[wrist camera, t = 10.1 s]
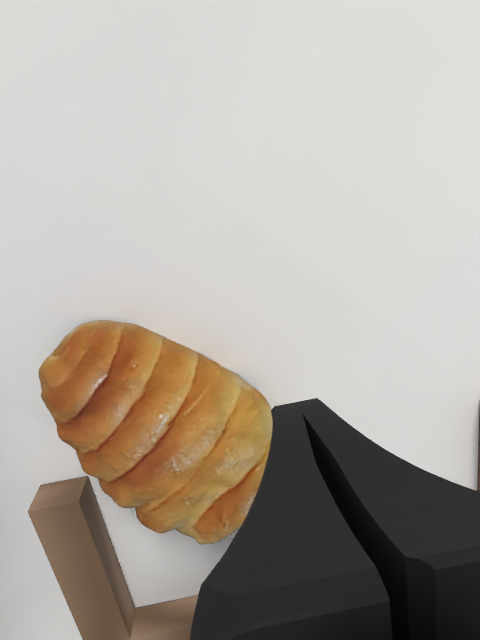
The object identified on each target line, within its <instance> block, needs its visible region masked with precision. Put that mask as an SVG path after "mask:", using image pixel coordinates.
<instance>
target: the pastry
mask: <svg viewBox="0 0 480 640" xmlns="http://www.w3.org/2000/svg"><path fill="white" fill-rule="evenodd" d="M39 378H40V381H41V388H42V393H41V397H42V400H43V401H44V403H45V405H46V407H47V408H48V410H49V411H50V413H51V415H52V416H53V418H54V420H55V422H56V424H57V432H58V435H59V438H60V439H61V440H62V441H64V442H66V443H67V444H69V445H70V446H72V447H73V448H74V449H75V450H76V452H77V455H78V458H79V461H80V463H81V466H82V469H83V471H84V472H85V473H86V474H88V475H91V476H94V477H96V478H98V479H99V483H100V486H101V489H102V490H103V491H104V492H105V493H106V494H107V495H109V496H110V497H111V498H112V499H113V500H114V501H115V502H116V503H117V504H118V505H119V506H120V507H123V508H132V507H135V509H136V514H137V518H138V520H139V521H140V522H141V523H142V524H143V525H144V526H145V527H147V528H149V529H151V530H153V531H155V532H157V533H165V532H168V531H170V530H173V529H176V530H177V531H179V532H180V533H182V534H185V535H187V536H190V537H192V538H194V539H195V540H196V541H197V542H198V543H199V544H207V543H211V544H212V543H215V542H218V541H220V540H221V539H223V538H225V537H227V536H229V535H230V534H231V533H233V532H234V531H235V530H237V529H238V528H239V527H240V526H242V524H243V522H244V520H245V518H246V516H247V514H248V512H249V509H250V507H251V505H252V503H253V501H254V498H255V496H256V493H257V491H258V488H259V485H260V482H261V479H262V476H263V473H264V469H265V466H266V462H267V458H268V454H269V449H270V443H271V437H272V426H273V420H272V414H271V408H270V406H269V403H268V402H267V400H266V398H265V397H264V396H263V395H262V394H261V393H260V392H259V391H258V390H256V389H255V388H254V387H252V386H251V385H250V384H249V383H247V382H246V381H245V380H244V379H242V378H241V377H240V376H239V375H238V374H236V373H234V372H232V371H230V370H228V369H226V368H224V367H221V366H220V365H219V364H218V363H216V362H215V361H212V360H210V359H208V358H207V357H205V356H203V355H202V354H200V353H198V352H196V351H193V350H191V349H189V348H187V347H185V346H183V345H180V344H178V343H176V342H174V341H172V340H170V339H167V338H165V337H163V336H161V335H159V334H157V333H154V332H152V331H150V330H148V329H145V328H143V327H141V326H138V325H135V324H129V323H121V322H114V321H108V320H99V321H93V322H88V323H84V324H81V325H79V326H77V327H76V328H75V329H74V330H73V331H71V332H70V333H69V334H68V335H67V336H66V337H65V338H64V339H63V340H62V341H61V343H60V344H59V346H58V347H57V348H56V349H55V350H54V352H53V353H52V354H51V355H50V356H49V357H47V358H46V360H45V361H44V362H43V364H42V365H41V367H40V369H39Z"/></svg>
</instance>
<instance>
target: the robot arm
mask: <svg viewBox="0 0 480 640" xmlns="http://www.w3.org/2000/svg"><path fill="white" fill-rule="evenodd" d="M271 414H272V420H273V426H272V437H271V443H270V449H269V454H268V458H267V462H266V466H265V469H264V473H263V476H262V479H261V482H260V485H259V488H258V491H257V493H256V496H255V498H254V501H253V503H252V505H251V507H250V509H249V512H248V514H247V516H246V518H245V520H244V522H243V524H242V526H241V527H240V529H239V531H238V532H237V534H236V536H235V537H234V539H233V541H232V542H231V544H230V546H229V547H228V549H227V551H226V552H225V554H224V555H223V557H222V558H221V559H220V561H219V562H218V563H217V565H216V566H215V567H214V569H213V570H212V571H211V573H210V574H209V575H208V577H207V578H206V579H205V581H204V582H203V583H202V584H201V588H200V591H199V595H198V599H197V603H196V607H195V611H194V616H193V621H192V627H191V633H190V640H480V492H478V491H475V490H472V489H469V488H466V487H464V486H461V485H458V484H456V483H453V482H450V481H448V480H446V479H443V478H441V477H439V476H436V475H434V474H431V473H429V472H427V471H425V470H423V469H420V468H418V467H416V466H414V465H412V464H411V463H409V462H407V461H405V460H403V459H401V458H399V457H397V456H395V455H394V454H392V453H390V452H388V451H387V450H385V449H384V448H382V447H380V446H379V445H377V444H376V443H374V442H373V441H371V440H370V439H368V438H367V437H365V436H364V435H363V434H361V433H360V432H359V431H357V430H356V429H355V428H353V427H352V426H351V425H349V424H348V423H347V422H345V421H344V420H343V419H342V418H340V417H339V416H338V415H337V414H336V413H334V412H333V411H332V410H331V409H330V408H329V407H327V406H326V405H325V404H324V403H323V402H322V401H320V400H319V399H317V398H315V399H310V400H305V401H300V402H295V403H290V404H285V405H280V406H275V407H274V408H273V409H272V410H271Z"/></svg>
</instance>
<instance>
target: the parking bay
mask: <svg viewBox="0 0 480 640" xmlns="http://www.w3.org/2000/svg"><path fill="white" fill-rule="evenodd" d="M478 492H480V430H479V471H478ZM28 513H29V516H30V518H31V520H32V523H33V525H34V527H35V530H36V532H37V534H38V537H39V539H40V541H41V543H42V546H43V548H44V550H45V553H46V555H47V557H48V560H49V562H50V564H51V567H52V569H53V571H54V574H55V576H56V578H57V581H58V583H59V585H60V588H61V590H62V592H63V594H64V597H65V599H66V601H67V604H68V606H69V608H70V611H71V613H72V615H73V618H74V620H75V622H76V625H77V627H78V629H79V632H80V634H81V636H82V639H83V640H190V633H191V627H192V621H193V616H194V611H195V607H196V603H197V599H198V596H193V597H188V598H183V599H178V600H173V601H168V602H163V603H158V604H154V605H149V606H144V607H139V608H135V607H134V604H133V601H132V599H131V596H130V593H129V590H128V587H127V585H126V582H125V579H124V576H123V573H122V571H121V568H120V565H119V562H118V559H117V557H116V554H115V551H114V548H113V546H112V543H111V540H110V537H109V534H108V532H107V529H106V526H105V523H104V520H103V518H102V515H101V512H100V509H99V506H98V504H97V501H96V498H95V495H94V492H93V490H92V487H91V484H90V481H89V478H88V476H85V477H80V478H75V479H69V480H64V481H59V482H54V483H49V484H44V485H40V487H39V489H38V491H37V493H36V495H35V498H34V500H33V502H32V504H31V506H30V508H29V510H28Z"/></svg>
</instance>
